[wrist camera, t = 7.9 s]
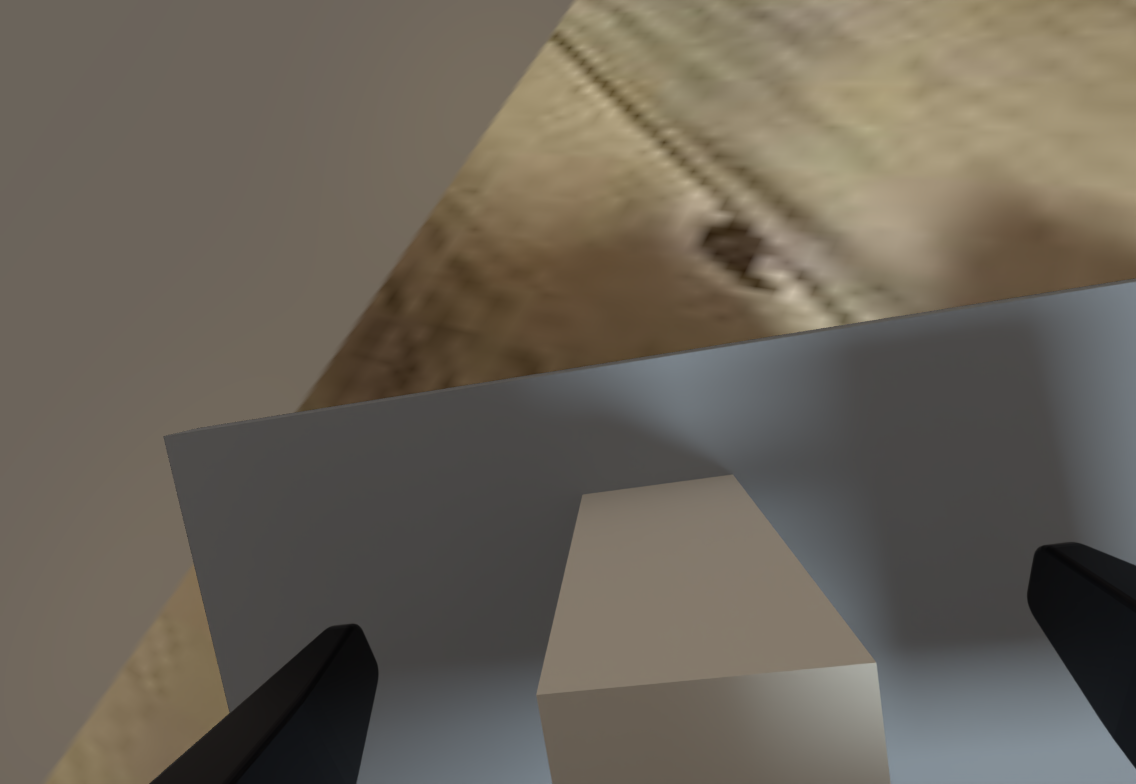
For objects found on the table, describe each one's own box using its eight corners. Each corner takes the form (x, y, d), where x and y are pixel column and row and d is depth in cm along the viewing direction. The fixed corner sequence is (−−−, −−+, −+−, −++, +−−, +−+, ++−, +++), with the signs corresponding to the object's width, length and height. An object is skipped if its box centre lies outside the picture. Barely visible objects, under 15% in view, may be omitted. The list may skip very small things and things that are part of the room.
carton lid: (1201, 858, 10) (2063, 1646, 4) (309, 906, 11) (-5, 1493, 6) (1165, 273, 9) (2253, 166, 3) (198, 428, 10) (-321, 550, 5)
